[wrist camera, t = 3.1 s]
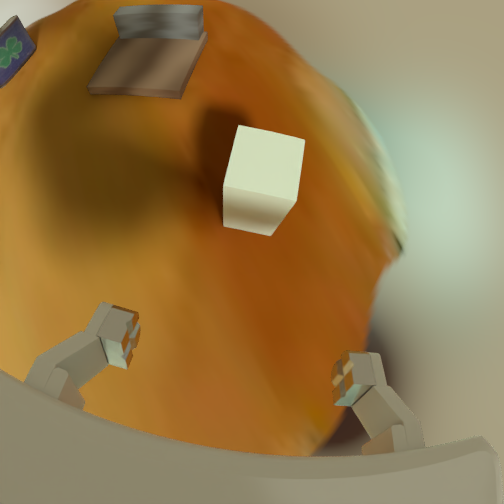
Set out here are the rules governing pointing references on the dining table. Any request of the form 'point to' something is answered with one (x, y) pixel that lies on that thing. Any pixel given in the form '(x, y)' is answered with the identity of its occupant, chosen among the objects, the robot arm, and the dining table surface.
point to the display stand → (152, 51)
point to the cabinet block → (261, 179)
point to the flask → (13, 49)
